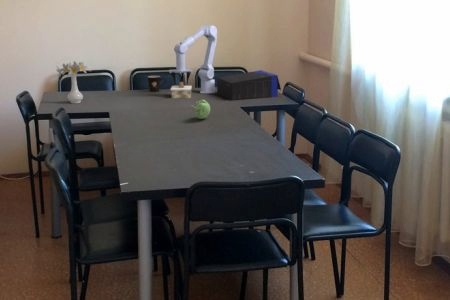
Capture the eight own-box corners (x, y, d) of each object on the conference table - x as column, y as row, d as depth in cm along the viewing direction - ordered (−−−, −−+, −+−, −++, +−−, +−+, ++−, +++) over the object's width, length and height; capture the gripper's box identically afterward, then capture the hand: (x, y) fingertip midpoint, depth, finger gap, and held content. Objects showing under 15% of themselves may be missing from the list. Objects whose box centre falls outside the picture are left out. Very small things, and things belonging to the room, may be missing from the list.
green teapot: (187, 118, 313) (187, 98, 310) (206, 116, 317) (206, 96, 314) (195, 122, 302) (195, 102, 299) (215, 120, 307) (214, 100, 304)
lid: (191, 86, 379) (191, 80, 378) (191, 90, 366) (190, 83, 365) (172, 87, 379) (171, 80, 377) (170, 90, 366) (170, 83, 365)
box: (191, 94, 380) (191, 87, 378) (190, 98, 368) (190, 90, 367) (172, 94, 379) (172, 87, 378) (171, 98, 368) (171, 90, 367)
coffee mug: (146, 92, 389) (145, 77, 387) (151, 89, 397) (150, 75, 395) (162, 92, 386) (161, 78, 383) (166, 90, 394) (166, 76, 391)
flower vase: (58, 101, 358) (55, 61, 352) (88, 99, 364) (85, 60, 357) (59, 105, 347) (56, 64, 340) (90, 103, 352) (88, 62, 345)
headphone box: (281, 97, 372) (281, 74, 368) (231, 101, 359) (231, 78, 355) (265, 90, 394) (265, 69, 390) (217, 94, 381) (216, 72, 377)
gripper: (168, 63, 364) (169, 85, 368) (191, 63, 364) (192, 85, 368) (169, 62, 371) (170, 83, 374) (192, 62, 371) (192, 83, 375)
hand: (181, 84), depth 372 cm, fingers open, 7 cm apart
